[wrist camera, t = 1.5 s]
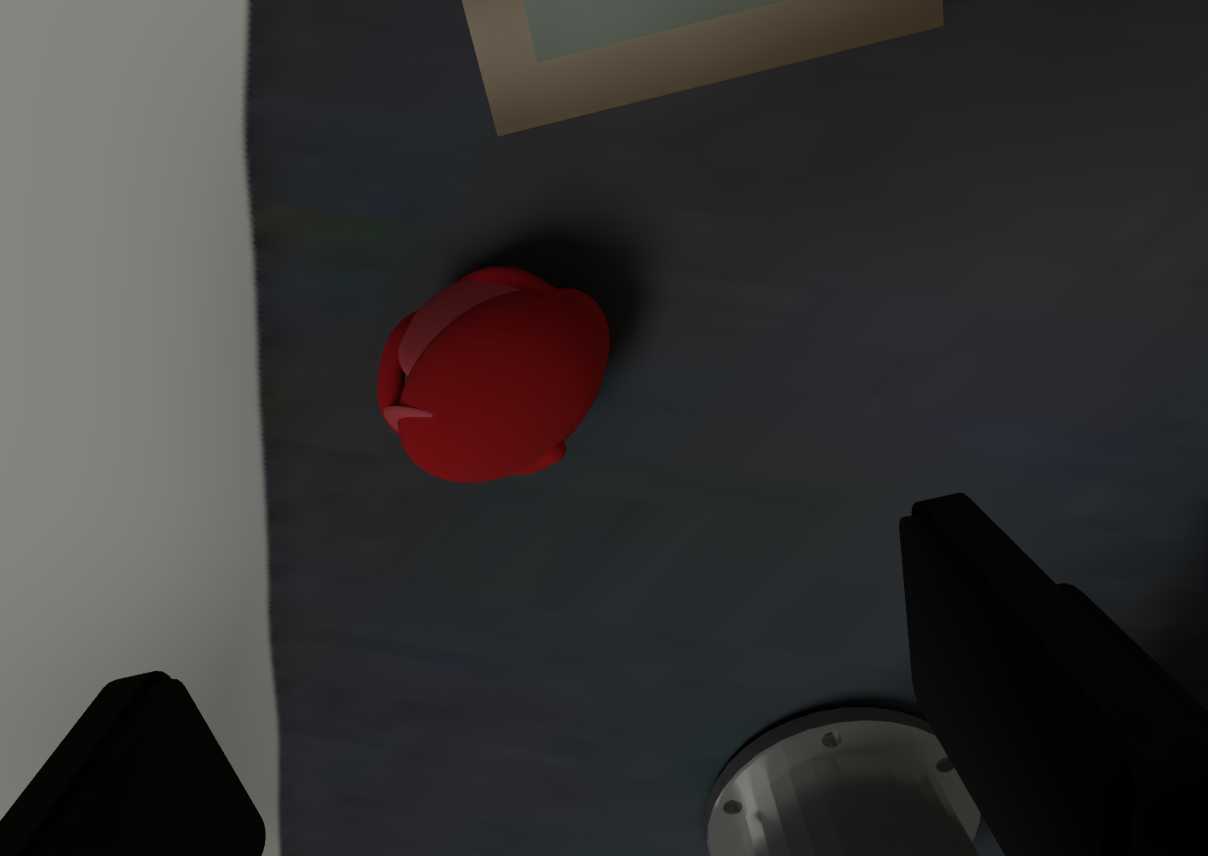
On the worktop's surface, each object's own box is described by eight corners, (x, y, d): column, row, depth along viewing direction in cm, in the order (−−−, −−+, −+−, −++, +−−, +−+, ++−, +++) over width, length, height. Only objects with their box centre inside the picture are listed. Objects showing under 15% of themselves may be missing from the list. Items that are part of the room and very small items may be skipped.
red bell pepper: (410, 519, 26) (561, 548, 23) (314, 390, 22) (480, 406, 19) (519, 361, 30) (656, 369, 28) (456, 230, 27) (608, 224, 24)
